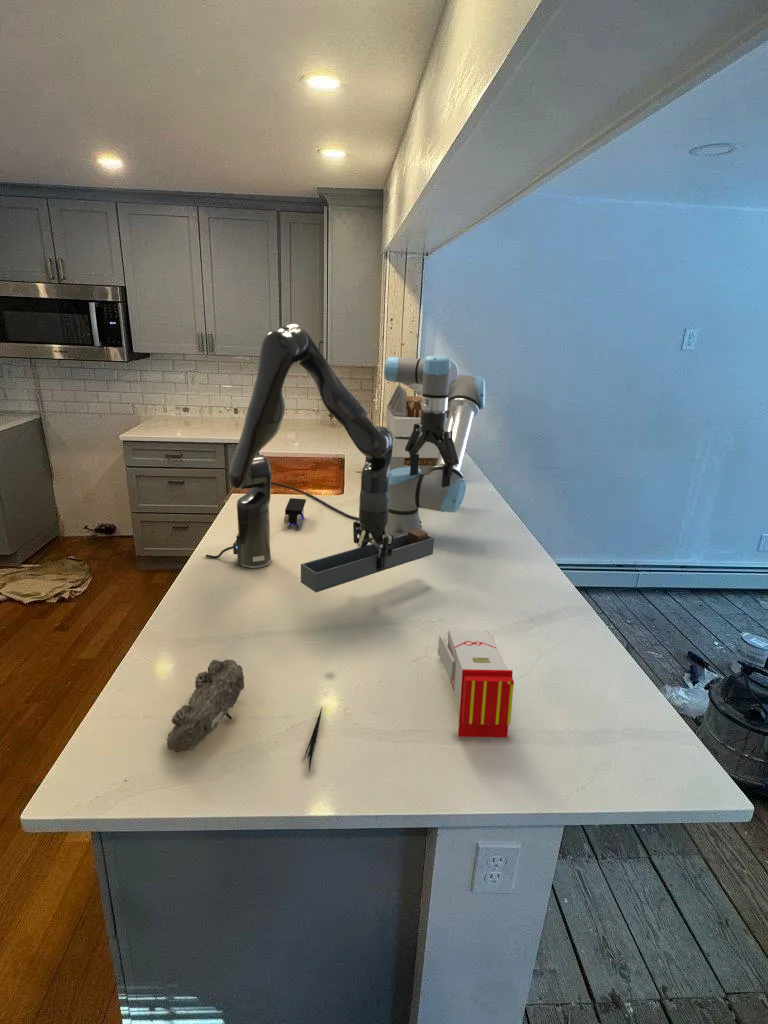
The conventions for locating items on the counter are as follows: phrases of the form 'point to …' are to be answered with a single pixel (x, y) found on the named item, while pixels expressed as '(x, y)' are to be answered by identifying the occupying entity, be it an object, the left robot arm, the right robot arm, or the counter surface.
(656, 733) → the counter surface
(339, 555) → the trough
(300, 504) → the figurine character
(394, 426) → the white crate
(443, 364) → the right robot arm
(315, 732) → the feather
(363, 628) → the counter surface
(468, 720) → the toy
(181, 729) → the fossil
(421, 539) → the walnut block
